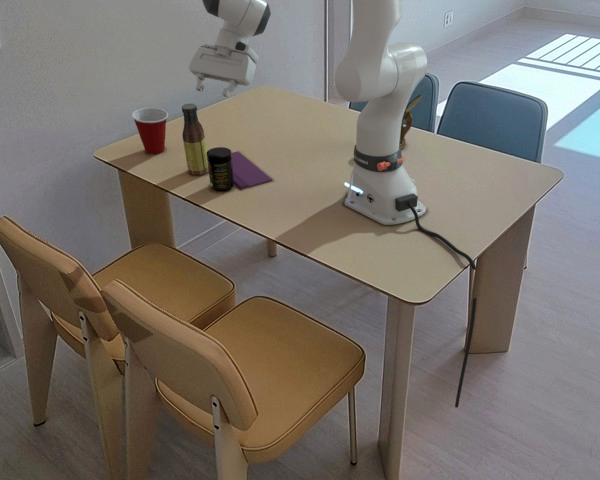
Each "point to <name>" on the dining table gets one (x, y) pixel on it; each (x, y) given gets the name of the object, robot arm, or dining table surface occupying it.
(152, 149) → the plastic cup
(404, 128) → the wooden mug
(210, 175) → the supplement container
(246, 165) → the purple flat rectangular panel
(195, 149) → the sauce bottle
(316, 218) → the dining table surface
